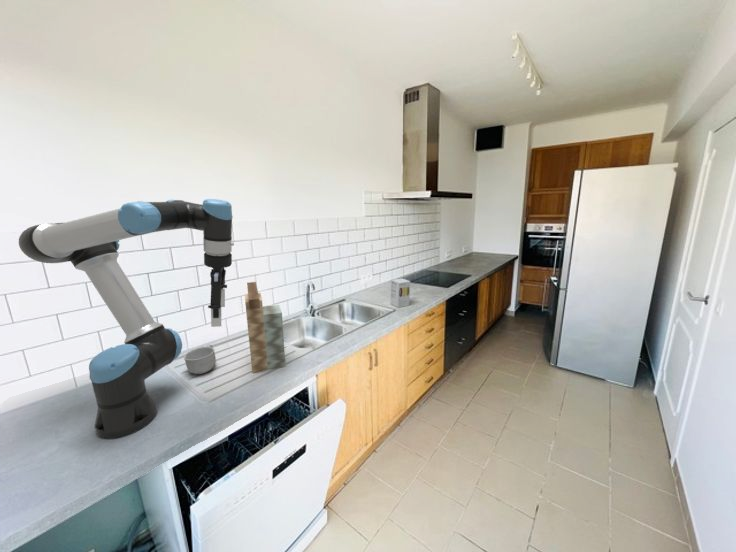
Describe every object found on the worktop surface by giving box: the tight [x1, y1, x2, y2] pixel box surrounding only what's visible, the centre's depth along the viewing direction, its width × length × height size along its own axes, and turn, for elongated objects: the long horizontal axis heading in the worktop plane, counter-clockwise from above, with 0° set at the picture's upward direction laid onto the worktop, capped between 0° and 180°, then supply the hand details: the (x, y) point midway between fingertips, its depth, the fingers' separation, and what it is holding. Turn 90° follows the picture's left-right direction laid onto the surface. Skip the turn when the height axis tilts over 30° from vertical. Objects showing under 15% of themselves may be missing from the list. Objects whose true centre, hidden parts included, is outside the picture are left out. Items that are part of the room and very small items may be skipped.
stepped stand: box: [244, 292, 287, 374], centre depth 123 cm, size 13×10×30 cm
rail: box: [246, 281, 260, 309], centre depth 116 cm, size 4×24×4 cm, turn 23°
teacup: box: [183, 344, 217, 375], centre depth 122 cm, size 14×11×8 cm
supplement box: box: [389, 278, 411, 308], centre depth 197 cm, size 10×9×17 cm
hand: (218, 315), depth 96 cm, fingers open, 13 cm apart
